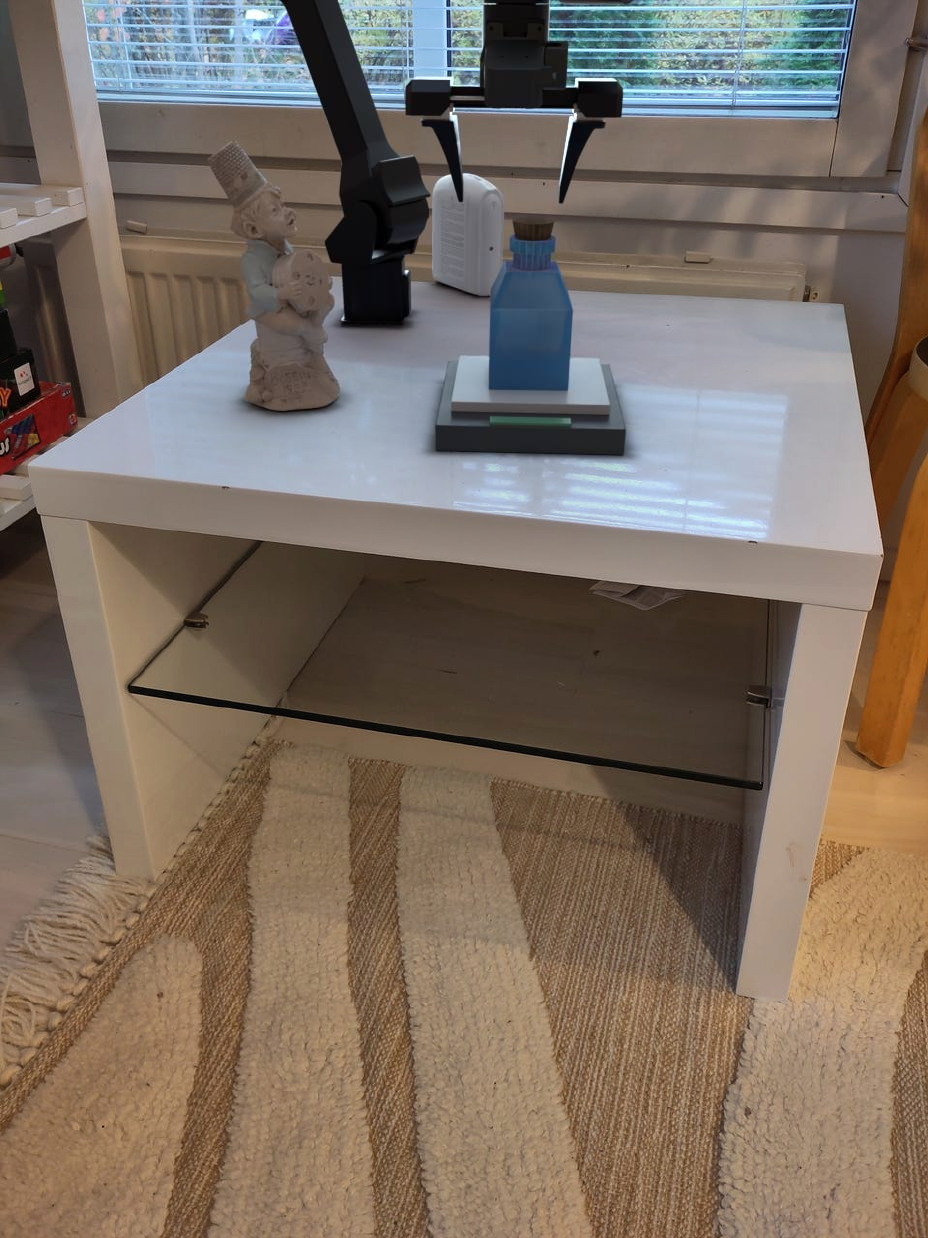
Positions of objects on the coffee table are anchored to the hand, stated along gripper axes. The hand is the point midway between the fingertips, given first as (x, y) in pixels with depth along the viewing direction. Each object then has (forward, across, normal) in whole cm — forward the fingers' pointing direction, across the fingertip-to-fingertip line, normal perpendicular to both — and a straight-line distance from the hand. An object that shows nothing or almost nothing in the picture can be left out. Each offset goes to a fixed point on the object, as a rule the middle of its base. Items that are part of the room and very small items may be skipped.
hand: (510, 202), depth 94 cm
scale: (+13, +2, -21) cm, 25 cm away
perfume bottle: (+10, +2, -20) cm, 23 cm away
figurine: (+13, -18, -18) cm, 29 cm away
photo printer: (+13, -5, +23) cm, 27 cm away
